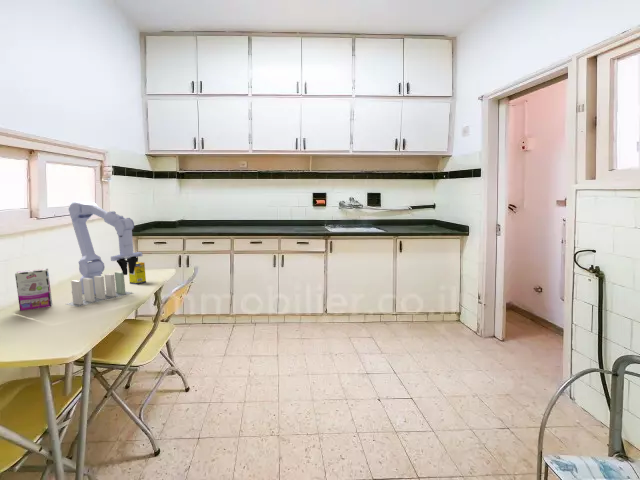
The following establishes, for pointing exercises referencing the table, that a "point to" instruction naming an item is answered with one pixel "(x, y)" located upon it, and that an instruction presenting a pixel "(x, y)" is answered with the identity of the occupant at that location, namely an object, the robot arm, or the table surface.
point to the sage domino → (120, 282)
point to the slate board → (98, 299)
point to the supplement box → (138, 274)
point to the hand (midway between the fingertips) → (128, 274)
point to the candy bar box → (33, 289)
